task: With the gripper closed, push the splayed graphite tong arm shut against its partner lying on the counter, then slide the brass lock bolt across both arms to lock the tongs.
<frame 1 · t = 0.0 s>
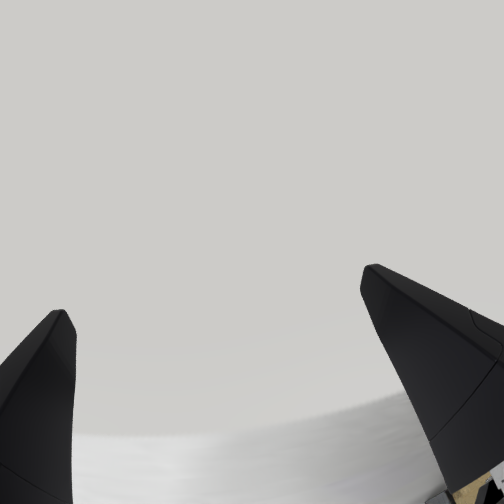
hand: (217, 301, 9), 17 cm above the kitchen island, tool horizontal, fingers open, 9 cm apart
lock bolt: (478, 497, 10), point 4 cm above the kitchen island, slide at 0.0 cm
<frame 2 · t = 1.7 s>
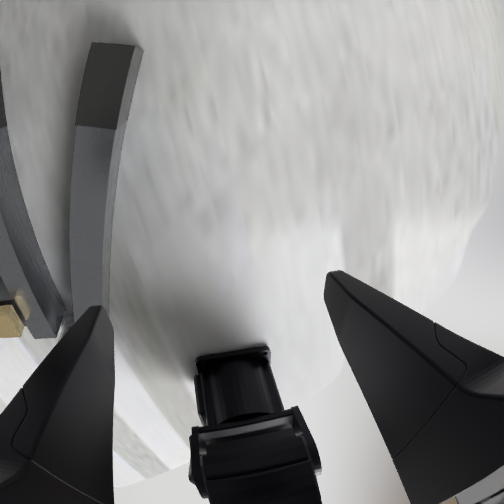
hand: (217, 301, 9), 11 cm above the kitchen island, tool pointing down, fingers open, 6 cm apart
tong arm: (77, 235, 16), point 2 cm above the kitchen island, hinge at 18.0°
tong base: (80, 327, 22), on the kitchen island
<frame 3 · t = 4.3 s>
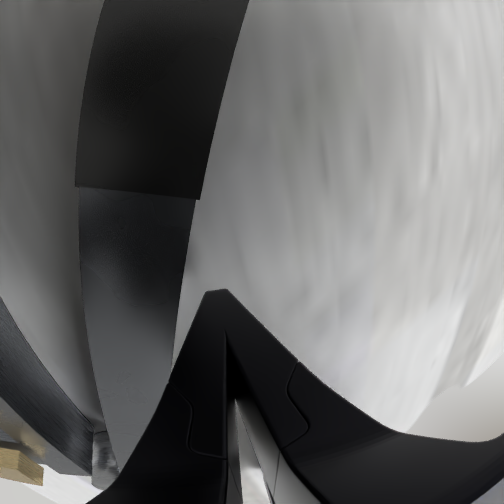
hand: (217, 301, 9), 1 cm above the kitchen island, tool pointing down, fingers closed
tong arm: (107, 371, 9), point 2 cm above the kitchen island, hinge at 17.0°, touching gripper
tong base: (116, 441, 14), on the kitchen island
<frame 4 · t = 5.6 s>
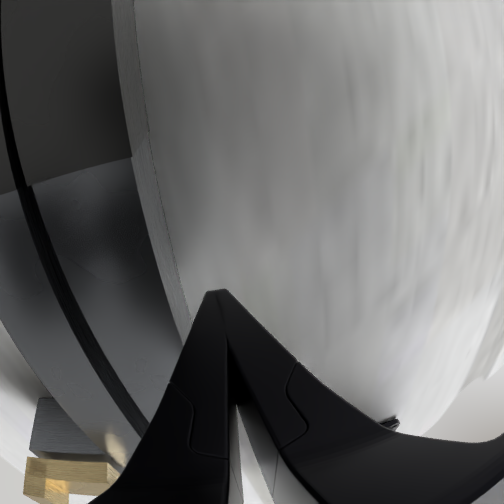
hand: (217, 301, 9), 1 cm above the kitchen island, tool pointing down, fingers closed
tong arm: (139, 368, 9), point 2 cm above the kitchen island, hinge at -2.3°, touching gripper
tong base: (187, 444, 15), on the kitchen island
lock bolt: (74, 488, 9), point 4 cm above the kitchen island, slide at 0.0 cm
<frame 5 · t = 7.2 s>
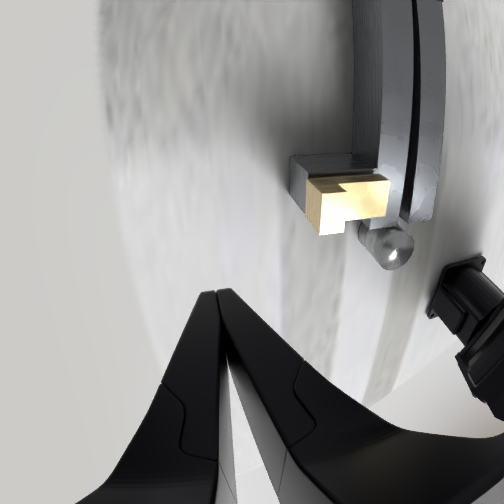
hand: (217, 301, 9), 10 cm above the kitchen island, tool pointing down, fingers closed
tong arm: (405, 102, 15), point 2 cm above the kitchen island, hinge at -2.3°
tong base: (375, 230, 21), on the kitchen island
lock bolt: (352, 201, 15), point 4 cm above the kitchen island, slide at 0.0 cm
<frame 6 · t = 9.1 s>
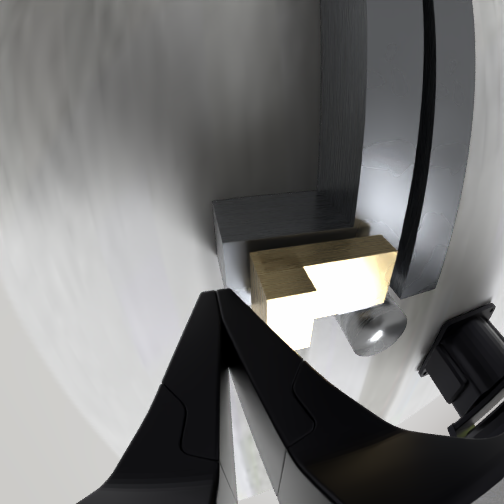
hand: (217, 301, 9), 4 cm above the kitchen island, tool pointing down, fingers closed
tong arm: (408, 108, 9), point 2 cm above the kitchen island, hinge at -2.3°
tong base: (353, 293, 15), on the kitchen island
lock bolt: (330, 290, 9), point 4 cm above the kitchen island, slide at 0.9 cm, touching gripper
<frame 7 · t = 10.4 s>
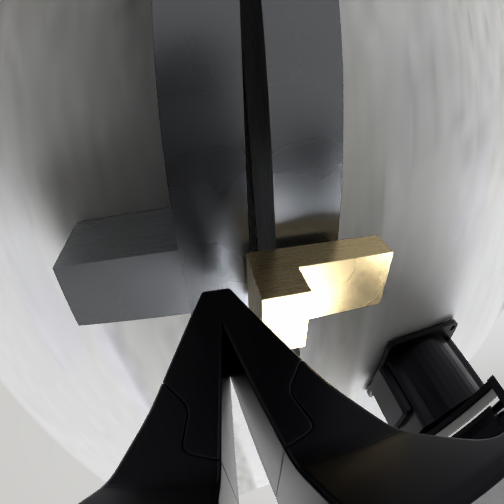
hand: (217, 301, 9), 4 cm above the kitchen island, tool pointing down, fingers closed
tong arm: (259, 103, 8), point 2 cm above the kitchen island, hinge at -2.3°
tong base: (251, 312, 15), on the kitchen island
lock bolt: (326, 291, 9), point 4 cm above the kitchen island, slide at 6.0 cm, touching gripper
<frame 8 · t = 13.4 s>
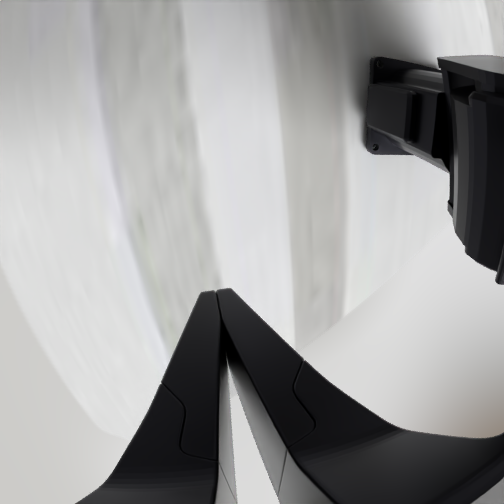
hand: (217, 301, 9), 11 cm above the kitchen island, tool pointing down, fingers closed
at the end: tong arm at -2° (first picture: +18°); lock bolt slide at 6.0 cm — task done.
